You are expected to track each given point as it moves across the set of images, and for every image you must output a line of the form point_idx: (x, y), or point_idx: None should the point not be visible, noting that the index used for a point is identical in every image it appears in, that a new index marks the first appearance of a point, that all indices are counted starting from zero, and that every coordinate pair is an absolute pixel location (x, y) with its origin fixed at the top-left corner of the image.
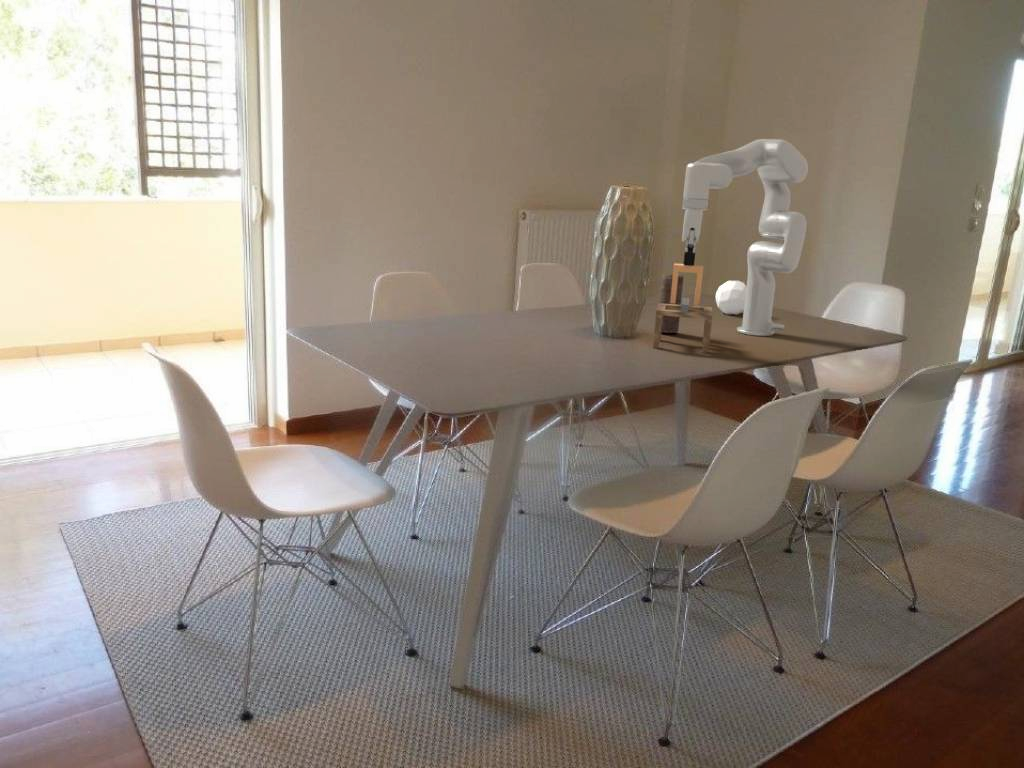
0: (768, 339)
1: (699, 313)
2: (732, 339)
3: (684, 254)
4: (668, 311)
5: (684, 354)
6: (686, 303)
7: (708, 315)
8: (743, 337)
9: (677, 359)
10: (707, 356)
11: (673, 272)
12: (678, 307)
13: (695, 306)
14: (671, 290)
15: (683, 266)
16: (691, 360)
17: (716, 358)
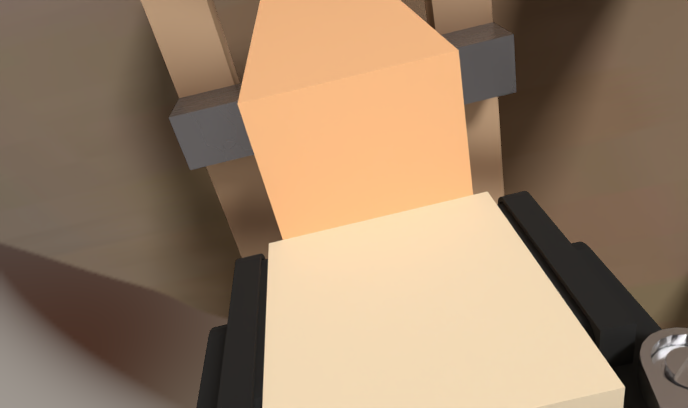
0: (651, 285)
1: (228, 207)
2: (596, 185)
3: (222, 379)
4: (147, 13)
5: (150, 93)
6: (243, 138)
7: (239, 248)
8: (656, 210)
9: (21, 93)
10: (189, 181)
11: (249, 71)
12: (431, 15)
13: (481, 123)
14: (257, 18)
15: (282, 230)
16: (58, 148)
17: (181, 217)
